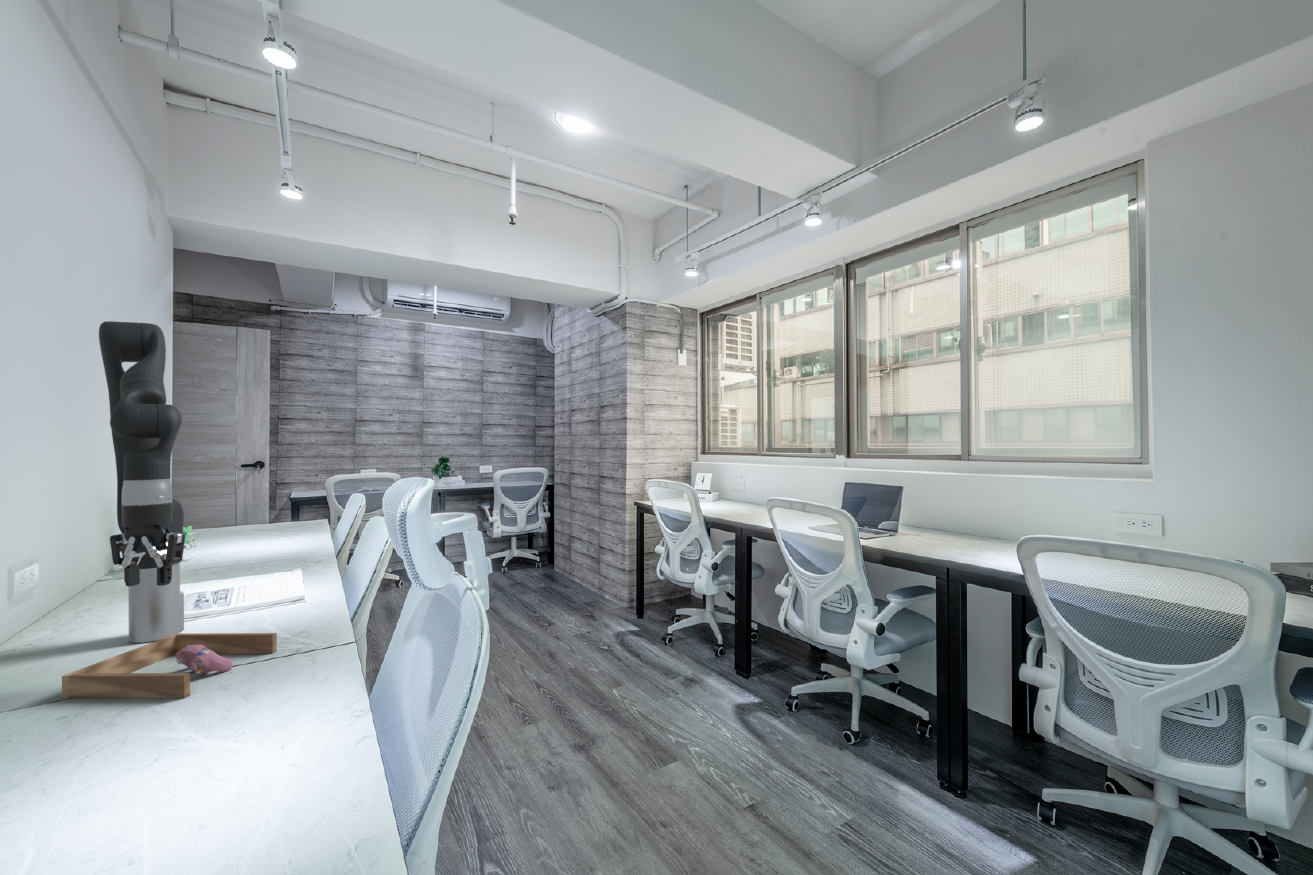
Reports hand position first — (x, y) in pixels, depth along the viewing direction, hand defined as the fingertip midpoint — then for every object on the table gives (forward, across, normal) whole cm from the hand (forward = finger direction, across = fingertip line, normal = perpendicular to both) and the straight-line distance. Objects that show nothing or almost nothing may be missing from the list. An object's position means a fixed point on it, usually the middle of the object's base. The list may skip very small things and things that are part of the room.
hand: (148, 584), depth 110 cm
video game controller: (+18, -11, 0) cm, 21 cm away
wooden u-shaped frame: (+18, -6, 0) cm, 19 cm away
